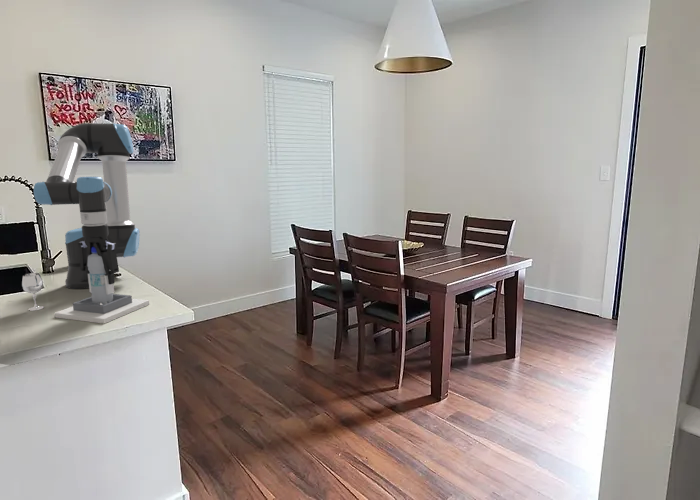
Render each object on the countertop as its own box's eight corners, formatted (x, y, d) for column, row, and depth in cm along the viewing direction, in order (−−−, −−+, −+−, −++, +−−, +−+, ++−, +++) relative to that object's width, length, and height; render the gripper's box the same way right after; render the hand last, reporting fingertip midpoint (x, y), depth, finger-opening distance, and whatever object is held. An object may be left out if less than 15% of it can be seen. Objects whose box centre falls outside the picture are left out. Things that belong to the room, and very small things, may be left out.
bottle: (104, 307, 149) (98, 247, 145) (87, 305, 151) (80, 247, 147) (118, 301, 156) (112, 244, 152) (101, 299, 157) (95, 243, 153)
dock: (103, 299, 166) (102, 288, 165) (149, 304, 160) (148, 293, 160) (54, 317, 147) (53, 305, 146) (104, 323, 141) (103, 311, 141)
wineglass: (28, 307, 157) (23, 273, 155) (47, 305, 159) (43, 272, 157) (23, 312, 152) (18, 277, 150) (44, 310, 154) (39, 275, 152)
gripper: (61, 224, 147) (70, 293, 152) (109, 227, 142) (116, 298, 146) (81, 221, 154) (88, 287, 159) (127, 224, 149) (133, 291, 153)
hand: (102, 292), depth 152 cm, fingers closed on bottle, 6 cm apart
